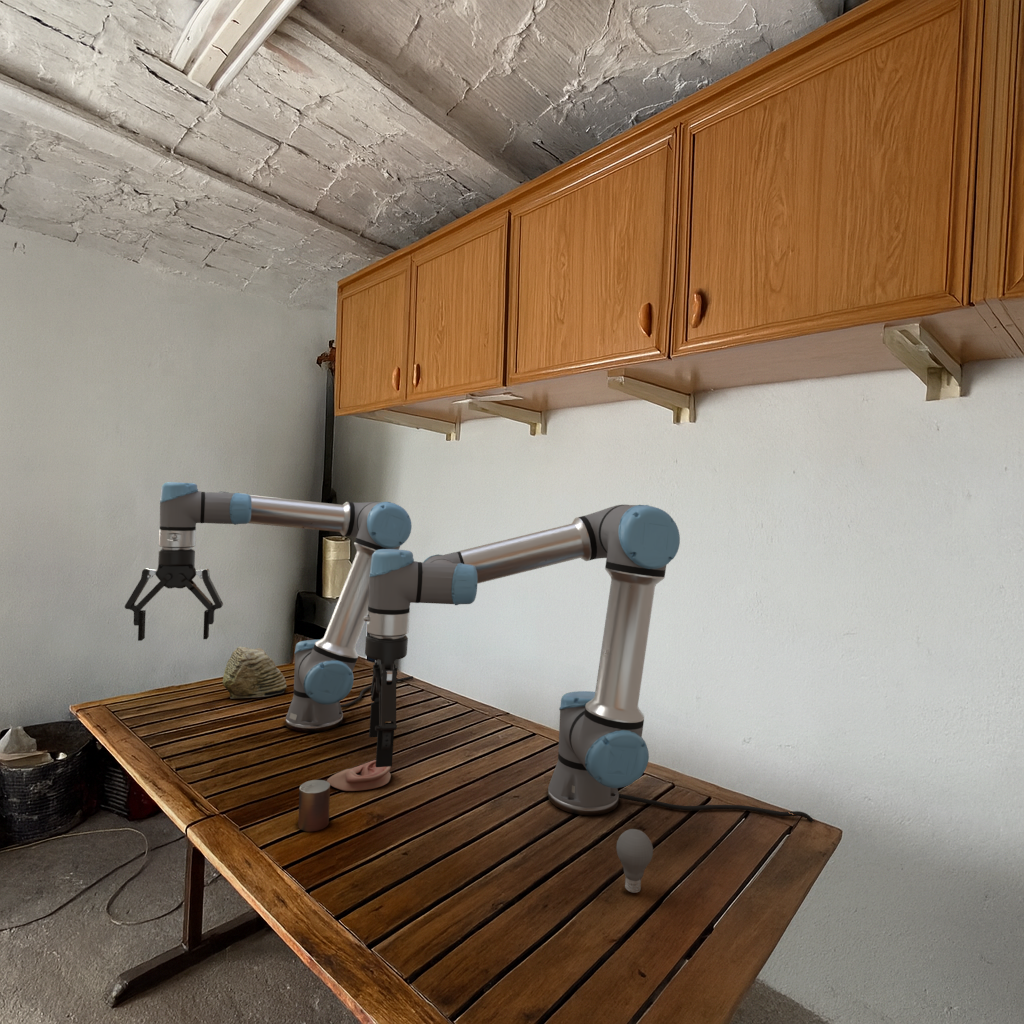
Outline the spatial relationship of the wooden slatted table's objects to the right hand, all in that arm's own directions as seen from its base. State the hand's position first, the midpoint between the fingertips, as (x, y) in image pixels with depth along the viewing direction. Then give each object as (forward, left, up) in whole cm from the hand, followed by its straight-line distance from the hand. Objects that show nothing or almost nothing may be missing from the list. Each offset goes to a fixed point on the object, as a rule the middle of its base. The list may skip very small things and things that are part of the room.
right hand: (379, 750), depth 115 cm
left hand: (+45, -47, +11) cm, 66 cm away
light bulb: (-41, +22, -18) cm, 49 cm away
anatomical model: (+2, -28, -18) cm, 33 cm away
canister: (+11, -10, -18) cm, 23 cm away
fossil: (+31, -94, -18) cm, 101 cm away
